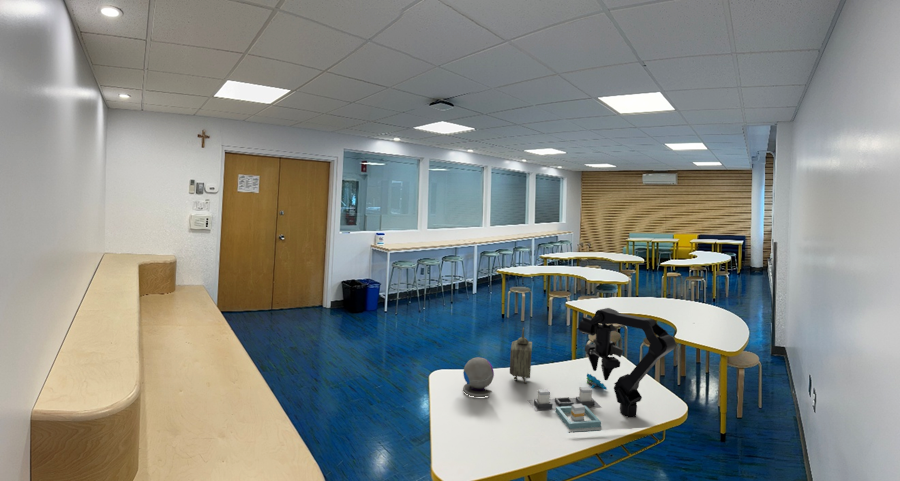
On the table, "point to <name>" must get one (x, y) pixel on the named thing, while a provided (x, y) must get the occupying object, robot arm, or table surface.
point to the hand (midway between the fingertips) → (600, 375)
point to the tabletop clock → (521, 358)
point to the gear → (594, 381)
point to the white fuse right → (585, 394)
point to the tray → (578, 424)
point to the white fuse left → (543, 396)
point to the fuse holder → (562, 403)
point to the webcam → (478, 377)
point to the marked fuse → (577, 412)
